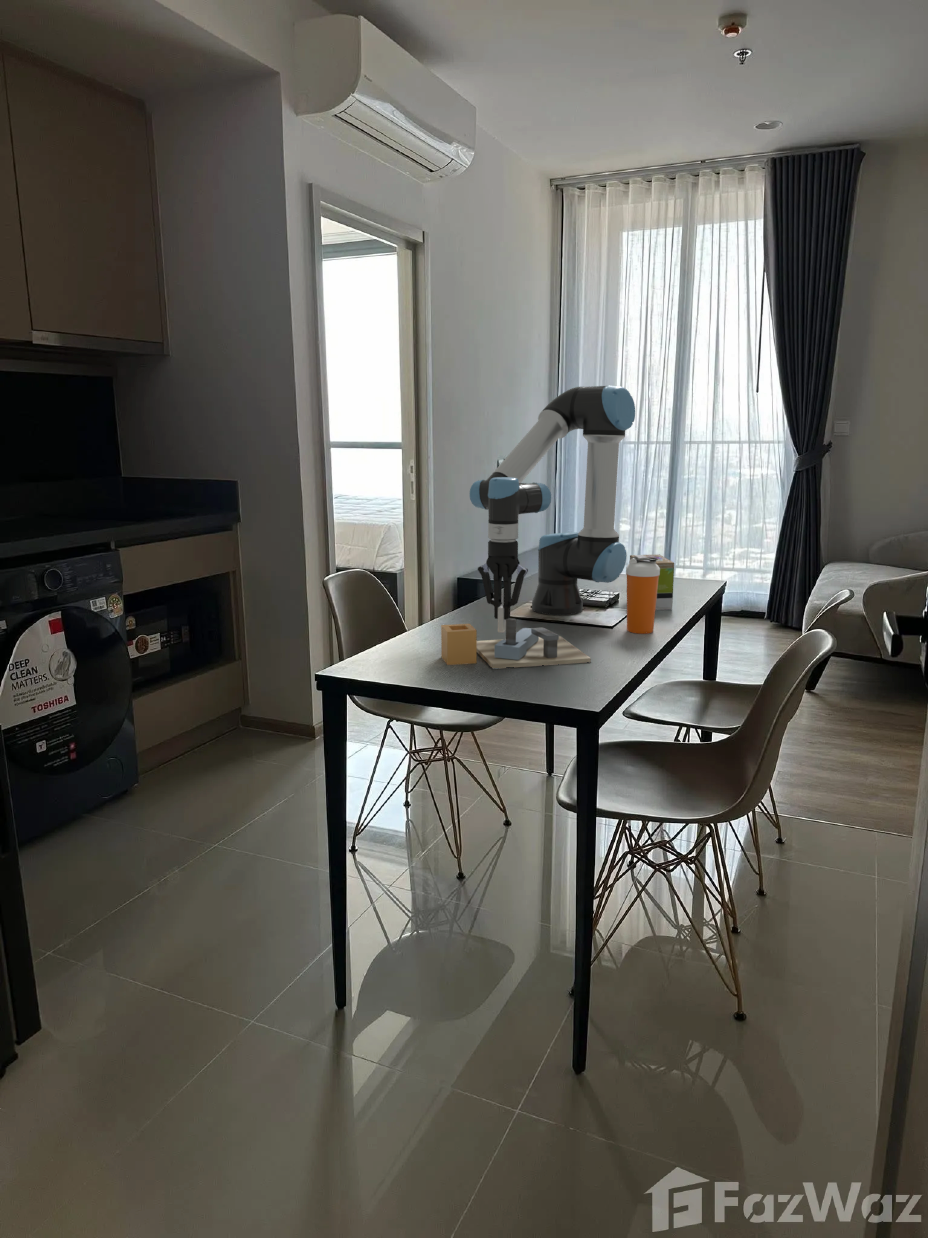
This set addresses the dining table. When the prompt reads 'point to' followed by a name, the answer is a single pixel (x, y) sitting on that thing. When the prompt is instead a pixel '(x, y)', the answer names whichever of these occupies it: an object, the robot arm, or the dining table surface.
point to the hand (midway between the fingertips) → (502, 631)
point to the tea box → (663, 581)
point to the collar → (458, 644)
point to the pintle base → (533, 649)
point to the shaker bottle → (641, 594)
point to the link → (520, 649)
